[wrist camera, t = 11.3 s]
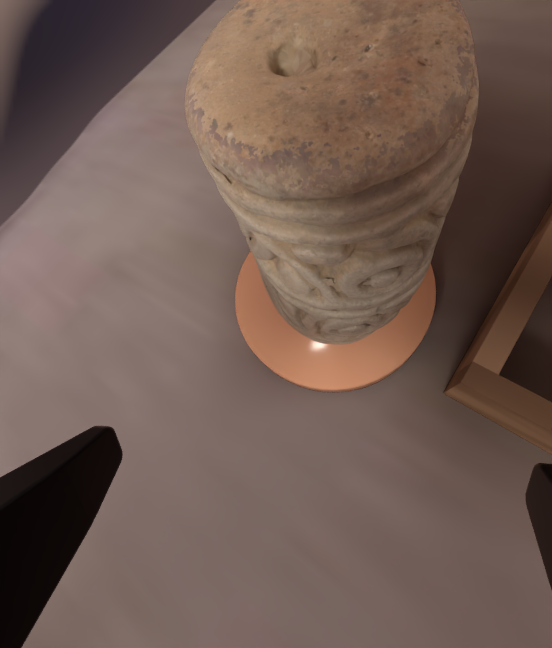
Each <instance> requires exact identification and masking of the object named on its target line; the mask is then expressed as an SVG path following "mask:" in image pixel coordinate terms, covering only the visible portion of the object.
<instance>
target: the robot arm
mask: <svg viewBox="0 0 552 648" xmlns="http://www.w3.org/2000/svg"><path fill="white" fill-rule="evenodd" d="M122 455H123V454H122V449H121V446H120V444H119V441H118V438H117V436H116V433H115V431H114V429H113V428H112V427H109V426H94V427H92V428H90V429H88V430H86V431H84V432H82V433H81V434H79V435H77V436H75V437H73V438H72V439H70V440H68V441H66V442H64V443H62V444H61V445H59V446H57V447H55V448H53V449H51V450H50V451H48V452H46V453H44V454H42V455H40V456H39V457H37V458H35V459H33V460H31V461H29V462H28V463H26V464H24V465H22V466H20V467H18V468H17V469H15V470H13V471H11V472H9V473H7V474H6V475H4V476H2V477H0V648H21V647H22V646H23V644H24V642H25V641H26V639H27V637H28V635H29V634H30V632H31V630H32V628H33V627H34V625H35V623H36V621H37V620H38V618H39V616H40V614H41V613H42V611H43V609H44V607H45V606H46V604H47V602H48V600H49V599H50V597H51V595H52V593H53V592H54V590H55V588H56V586H57V585H58V583H59V581H60V579H61V578H62V576H63V574H64V572H65V571H66V569H67V567H68V565H69V564H70V562H71V560H72V559H73V557H74V555H75V553H76V552H77V550H78V548H79V546H80V545H81V543H82V541H83V539H84V538H85V536H86V534H87V532H88V530H89V529H90V527H91V525H92V523H93V521H94V519H95V517H96V515H97V513H98V511H99V509H100V506H101V504H102V502H103V500H104V498H105V496H106V493H107V491H108V489H109V487H110V485H111V483H112V480H113V478H114V476H115V474H116V472H117V470H118V468H119V465H120V463H121V460H122ZM526 505H527V509H528V512H529V516H530V519H531V522H532V526H533V529H534V533H535V536H536V539H537V543H538V546H539V549H540V553H541V556H542V560H543V563H544V566H545V570H546V573H547V577H548V580H549V583H550V586H551V589H552V464H546V463H538V464H536V465H535V466H534V468H533V471H532V474H531V478H530V481H529V484H528V487H527V491H526Z"/></svg>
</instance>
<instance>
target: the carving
mask: <svg viewBox="0 0 552 648" xmlns="http://www.w3.org/2000/svg"><path fill="white" fill-rule="evenodd" d="M478 98H479V81H478V73H477V66H476V61H475V47H474V41H473V38H472V34H471V30H470V26H469V23H468V20H467V18H466V16H465V14H464V11H463V9H462V7H461V5H460V3H459V1H458V0H240V1H239V2H238V3H237V4H236V5H235V6H234V7H233V8H232V9H231V10H230V11H229V12H228V13H227V15H226V16H225V17H224V18H223V19H222V20H221V21H220V22H219V24H218V25H217V26H216V27H215V29H214V30H213V31H212V32H211V34H210V35H209V36H208V38H207V39H206V41H205V42H204V44H203V46H202V47H201V49H200V51H199V53H198V55H197V57H196V60H195V62H194V65H193V67H192V69H191V72H190V75H189V78H188V83H187V89H186V98H185V114H186V120H187V123H188V126H189V129H190V132H191V134H192V136H193V138H194V140H195V142H196V144H197V146H198V148H199V151H200V154H201V157H202V159H203V162H204V164H205V166H206V168H207V169H208V171H209V173H210V175H211V176H212V178H213V179H214V181H215V183H216V185H217V188H218V190H219V192H220V194H221V196H222V197H223V199H224V201H225V202H226V203H227V205H228V206H229V207H230V208H231V209H232V211H233V212H234V214H235V216H236V218H237V220H238V222H239V226H240V229H241V231H242V233H243V234H244V235H245V236H246V240H247V243H248V245H249V248H250V250H251V252H252V254H253V256H254V258H255V260H256V263H257V265H258V269H259V272H260V275H261V278H262V281H263V283H264V286H265V288H266V290H267V293H268V295H269V297H270V299H271V301H272V303H273V304H274V306H275V308H276V309H277V311H278V312H279V314H280V315H281V316H282V317H283V318H284V320H285V321H286V322H287V323H288V324H289V325H290V326H291V327H293V328H294V329H295V330H296V331H298V332H299V333H301V334H302V335H304V336H306V337H308V338H310V339H312V340H314V341H316V342H319V343H324V344H340V345H341V344H349V343H353V342H356V341H359V340H361V339H363V338H365V337H367V336H368V335H370V334H372V333H373V332H374V331H376V330H377V329H379V328H381V327H383V326H385V325H386V324H388V323H389V322H390V321H392V320H393V319H394V318H395V317H396V316H397V315H398V313H399V312H400V309H401V308H403V307H405V306H406V305H407V304H408V303H409V301H410V300H411V298H412V296H413V295H414V293H415V292H416V290H417V289H418V288H419V286H420V285H421V283H422V281H423V279H424V277H425V275H426V273H427V271H428V269H429V266H430V263H431V260H432V257H433V253H434V250H435V246H436V243H437V241H438V238H439V235H440V233H441V230H442V226H443V224H444V221H445V218H446V215H447V213H448V211H449V209H450V207H451V204H452V201H453V199H454V196H455V193H456V190H457V186H458V182H459V176H460V174H461V172H462V170H463V167H464V165H465V162H466V160H467V157H468V154H469V150H470V146H471V143H472V131H473V128H474V125H475V122H476V117H477V110H478Z"/></svg>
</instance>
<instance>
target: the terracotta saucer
mask: <svg viewBox="0 0 552 648" xmlns="http://www.w3.org/2000/svg"><path fill="white" fill-rule="evenodd" d="M435 301H436V285H435V277H434V273H433V269H432V266H431V263H430V266H429V269H428V271H427V273H426V275H425V277H424V279H423V281H422V283H421V285H420V286H419V288H418V289H417V290H416V292H415V293H414V295H413V296H412V298H411V300H410V301H409V303H408V304H407V305H406V306H405V307H403V308H401V309H400V312H399V313H398V315H397V316H396V317H395V318H394V319H393V320H392V321H390V322H389V323H388V324H386V325H385V326H383V327H381V328H379V329H377V330H376V331H374V332H373V333H372V334H370V335H368V336H367V337H365V338H363V339H361V340H359V341H356V342H353V343H349V344H341V345H340V344H324V343H319V342H316V341H314V340H312V339H310V338H308V337H306V336H304V335H302V334H301V333H299V332H298V331H296V330H295V329H294V328H293V327H291V326H290V325H289V324H288V323H287V322H286V321H285V320H284V318H283V317H282V316H281V315H280V314H279V312H278V311H277V309H276V308H275V306H274V304H273V303H272V301H271V299H270V297H269V295H268V293H267V290H266V288H265V286H264V283H263V281H262V278H261V275H260V272H259V269H258V265H257V263H256V260H255V258H254V256H253V254H252V252H251V251H250V253H249V254H248V256H247V258H246V260H245V261H244V263H243V265H242V268H241V271H240V273H239V277H238V281H237V285H236V293H235V309H236V315H237V320H238V323H239V326H240V329H241V332H242V334H243V336H244V338H245V340H246V342H247V344H248V345H249V347H250V348H251V349H252V351H253V352H254V353H255V354H256V356H257V357H258V358H259V359H260V360H261V361H262V362H263V363H264V364H265V365H266V366H268V367H269V368H270V369H271V370H272V371H273V372H275V373H276V374H277V375H279V376H280V377H282V378H283V379H285V380H287V381H288V382H291V383H293V384H295V385H297V386H300V387H303V388H306V389H310V390H314V391H321V392H346V391H353V390H357V389H361V388H365V387H368V386H370V385H373V384H375V383H377V382H379V381H381V380H383V379H385V378H387V377H388V376H390V375H391V374H392V373H394V372H395V371H396V370H398V369H399V368H400V367H401V366H402V365H403V364H404V363H405V362H406V361H407V360H408V359H409V358H410V357H411V355H412V354H413V353H414V351H415V350H416V349H417V347H418V345H419V344H420V342H421V340H422V339H423V337H424V335H425V333H426V332H427V330H428V327H429V325H430V322H431V320H432V317H433V312H434V308H435Z"/></svg>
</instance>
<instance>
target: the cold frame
mask: <svg viewBox="0 0 552 648" xmlns="http://www.w3.org/2000/svg"><path fill="white" fill-rule="evenodd" d="M551 277H552V202H551V204H550V206H549V207H548V209H547V211H546V213H545V214H544V216H543V218H542V220H541V221H540V223H539V225H538V227H537V229H536V230H535V232H534V234H533V236H532V237H531V239H530V241H529V243H528V244H527V246H526V248H525V250H524V251H523V253H522V255H521V257H520V259H519V260H518V262H517V264H516V266H515V267H514V269H513V271H512V273H511V274H510V276H509V278H508V280H507V281H506V283H505V285H504V287H503V289H502V290H501V292H500V294H499V296H498V297H497V299H496V301H495V303H494V304H493V306H492V308H491V310H490V312H489V313H488V315H487V317H486V319H485V320H484V322H483V324H482V326H481V327H480V329H479V331H478V333H477V334H476V336H475V338H474V340H473V342H472V343H471V345H470V347H469V349H468V350H467V352H466V354H465V356H464V357H463V359H462V361H461V363H460V365H459V366H458V368H457V370H456V372H455V373H454V375H453V377H452V379H451V380H450V382H449V384H448V386H447V387H446V389H445V391H444V394H446V395H447V396H449V397H451V398H453V399H454V400H456V401H458V402H460V403H462V404H463V405H465V406H467V407H469V408H470V409H472V410H474V411H476V412H478V413H479V414H481V415H483V416H485V417H486V418H488V419H490V420H492V421H493V422H495V423H497V424H499V425H501V426H502V427H504V428H506V429H508V430H509V431H511V432H513V433H515V434H516V435H518V436H520V437H522V438H524V439H525V440H527V441H529V442H531V443H532V444H534V445H536V446H538V447H540V448H541V449H543V450H545V451H547V452H548V453H550V454H552V402H550V401H549V400H547V399H545V398H543V397H541V396H539V395H537V394H535V393H533V392H531V391H529V390H527V389H525V388H523V387H521V386H520V385H518V384H516V383H514V382H512V381H510V380H508V379H506V378H504V377H502V376H500V375H499V373H500V371H501V369H502V367H503V365H504V364H505V362H506V360H507V358H508V356H509V354H510V353H511V351H512V349H513V347H514V345H515V343H516V342H517V340H518V338H519V336H520V334H521V332H522V330H523V329H524V327H525V325H526V323H527V321H528V319H529V318H530V316H531V314H532V312H533V310H534V308H535V306H536V305H537V303H538V301H539V299H540V297H541V295H542V294H543V292H544V290H545V288H546V286H547V284H548V283H549V281H550V279H551Z"/></svg>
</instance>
